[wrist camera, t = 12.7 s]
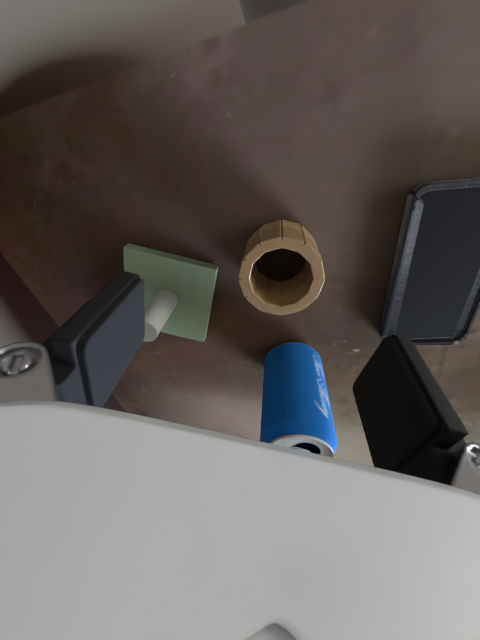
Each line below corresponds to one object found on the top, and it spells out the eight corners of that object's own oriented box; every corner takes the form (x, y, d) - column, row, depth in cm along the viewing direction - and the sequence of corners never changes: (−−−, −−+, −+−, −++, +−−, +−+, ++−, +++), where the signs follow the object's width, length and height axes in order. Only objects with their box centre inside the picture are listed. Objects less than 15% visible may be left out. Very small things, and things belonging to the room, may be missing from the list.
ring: (254, 212, 24) (249, 227, 20) (327, 230, 24) (337, 249, 20) (238, 279, 28) (232, 304, 23) (302, 295, 28) (306, 322, 24)
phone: (380, 345, 28) (415, 185, 20) (377, 338, 29) (409, 183, 21) (464, 344, 27) (538, 174, 19) (458, 337, 28) (526, 173, 20)
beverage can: (332, 362, 32) (357, 463, 22) (289, 387, 35) (293, 486, 25) (295, 328, 30) (305, 422, 20) (253, 357, 33) (243, 452, 23)
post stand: (128, 243, 27) (87, 271, 21) (218, 265, 27) (202, 299, 21) (130, 317, 32) (97, 357, 26) (206, 335, 32) (190, 379, 26)
